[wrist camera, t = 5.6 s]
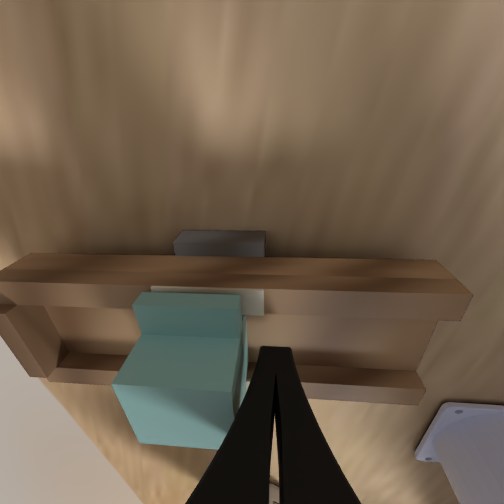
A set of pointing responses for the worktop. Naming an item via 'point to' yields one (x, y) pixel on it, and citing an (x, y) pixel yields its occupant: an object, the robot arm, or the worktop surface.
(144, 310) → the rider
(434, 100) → the worktop surface
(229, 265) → the brown wooden tray
